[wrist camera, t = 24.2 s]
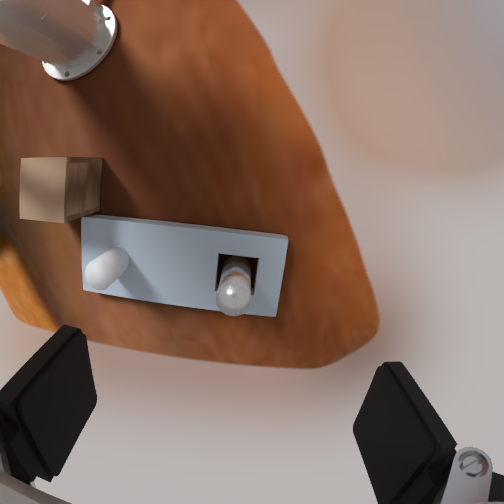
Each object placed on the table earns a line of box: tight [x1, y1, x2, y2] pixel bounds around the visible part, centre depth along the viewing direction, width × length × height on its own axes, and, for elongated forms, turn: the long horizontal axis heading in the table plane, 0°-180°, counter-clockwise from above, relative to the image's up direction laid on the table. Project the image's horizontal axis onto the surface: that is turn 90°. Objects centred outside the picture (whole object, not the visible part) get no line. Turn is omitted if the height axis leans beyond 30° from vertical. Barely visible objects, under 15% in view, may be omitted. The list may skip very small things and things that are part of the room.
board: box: [81, 214, 288, 317], centre depth 35 cm, size 10×26×8 cm, turn 83°
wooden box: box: [20, 157, 103, 223], centre depth 32 cm, size 7×7×9 cm
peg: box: [216, 255, 251, 316], centre depth 35 cm, size 3×3×10 cm
